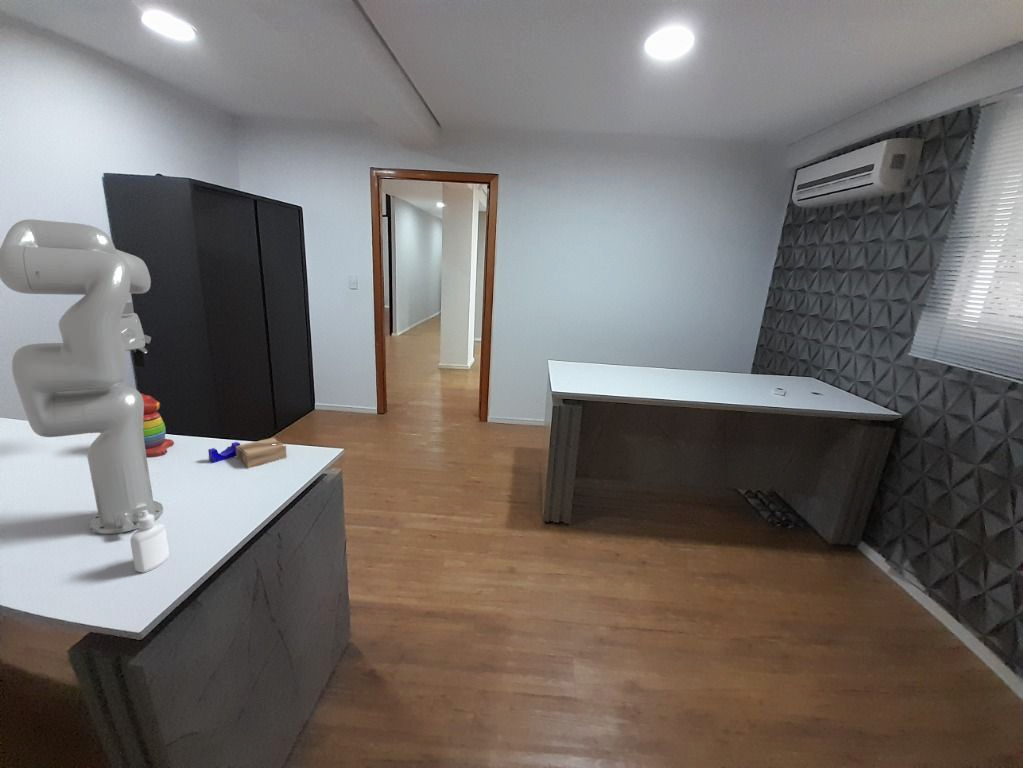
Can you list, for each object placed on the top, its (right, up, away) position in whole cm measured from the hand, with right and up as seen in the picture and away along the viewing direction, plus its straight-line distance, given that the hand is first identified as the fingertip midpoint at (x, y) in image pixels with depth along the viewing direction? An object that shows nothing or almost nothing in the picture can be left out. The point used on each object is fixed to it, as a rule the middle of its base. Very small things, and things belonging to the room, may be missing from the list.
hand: (124, 370), depth 122 cm
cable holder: (+21, -27, +10) cm, 36 cm away
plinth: (+32, -27, +12) cm, 43 cm away
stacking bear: (-2, -25, +11) cm, 27 cm away
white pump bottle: (+38, -40, -36) cm, 66 cm away
